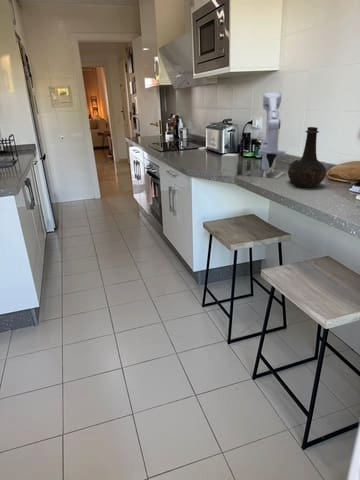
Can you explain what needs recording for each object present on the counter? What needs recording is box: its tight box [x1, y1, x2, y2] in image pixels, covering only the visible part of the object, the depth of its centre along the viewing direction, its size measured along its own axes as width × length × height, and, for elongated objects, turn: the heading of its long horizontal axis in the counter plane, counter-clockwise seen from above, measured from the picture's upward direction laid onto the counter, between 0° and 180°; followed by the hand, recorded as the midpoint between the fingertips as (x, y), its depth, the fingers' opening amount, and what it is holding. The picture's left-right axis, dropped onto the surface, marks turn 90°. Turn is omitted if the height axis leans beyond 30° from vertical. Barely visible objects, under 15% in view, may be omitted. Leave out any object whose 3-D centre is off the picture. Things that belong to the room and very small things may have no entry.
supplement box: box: [221, 153, 239, 178], centre depth 191 cm, size 7×7×13 cm
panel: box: [245, 168, 286, 180], centre depth 192 cm, size 17×18×4 cm
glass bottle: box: [287, 126, 327, 188], centre depth 166 cm, size 18×18×28 cm
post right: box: [245, 157, 252, 171], centre depth 203 cm, size 2×2×8 cm
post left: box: [237, 161, 244, 176], centre depth 192 cm, size 2×2×8 cm
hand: (270, 167), depth 190 cm, fingers closed, pressing on paddle
